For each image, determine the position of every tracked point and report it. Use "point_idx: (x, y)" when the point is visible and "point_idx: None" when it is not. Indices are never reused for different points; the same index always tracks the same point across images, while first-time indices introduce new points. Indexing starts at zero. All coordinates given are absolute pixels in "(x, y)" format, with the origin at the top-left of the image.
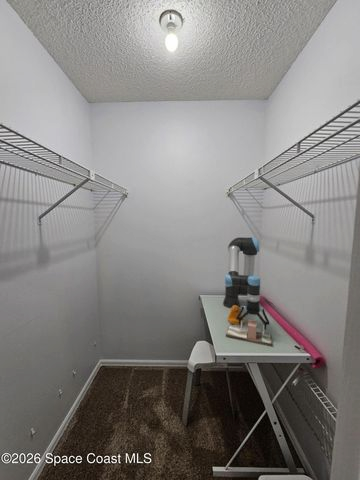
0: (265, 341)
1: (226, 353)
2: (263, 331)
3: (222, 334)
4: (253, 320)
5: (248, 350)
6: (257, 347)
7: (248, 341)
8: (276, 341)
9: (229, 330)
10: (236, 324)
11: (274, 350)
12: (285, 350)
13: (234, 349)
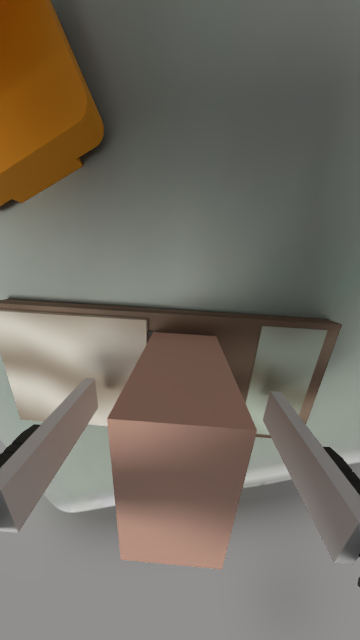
0: (263, 426)
1: (82, 505)
2: (284, 453)
3: (7, 386)
4: (194, 433)
5: None
6: None
7: None
8: (338, 368)
9: (18, 375)
10: (38, 191)
11: None
12: (353, 438)
13: (105, 481)
